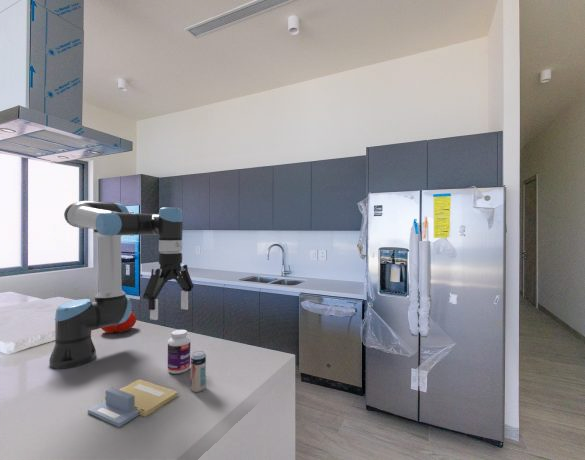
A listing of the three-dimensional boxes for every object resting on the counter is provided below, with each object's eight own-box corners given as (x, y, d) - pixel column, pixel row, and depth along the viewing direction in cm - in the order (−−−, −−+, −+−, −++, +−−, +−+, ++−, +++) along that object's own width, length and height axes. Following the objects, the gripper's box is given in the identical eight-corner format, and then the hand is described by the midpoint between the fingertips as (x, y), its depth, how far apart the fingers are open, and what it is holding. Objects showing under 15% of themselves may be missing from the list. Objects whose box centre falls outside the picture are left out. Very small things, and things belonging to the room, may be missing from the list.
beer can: (192, 385, 102) (192, 350, 102) (206, 384, 103) (207, 350, 103) (188, 393, 97) (189, 356, 97) (203, 392, 98) (204, 356, 98)
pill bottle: (182, 376, 108) (182, 336, 108) (162, 373, 110) (163, 334, 110) (194, 366, 116) (194, 329, 116) (175, 364, 118) (176, 327, 118)
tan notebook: (104, 400, 93) (105, 396, 93) (139, 382, 104) (139, 378, 104) (144, 416, 85) (144, 412, 85) (177, 395, 96) (177, 391, 96)
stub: (87, 412, 86) (87, 395, 86) (108, 401, 92) (108, 385, 92) (119, 427, 80) (119, 408, 80) (139, 414, 86) (139, 397, 86)
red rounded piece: (95, 332, 153) (96, 312, 153) (129, 324, 165) (129, 306, 165) (106, 338, 144) (106, 318, 143) (141, 330, 156) (141, 311, 156)
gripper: (148, 255, 90) (147, 326, 90) (203, 250, 113) (203, 306, 113) (130, 254, 93) (130, 322, 93) (188, 249, 116) (187, 304, 116)
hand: (170, 314), depth 103 cm, fingers open, 13 cm apart
